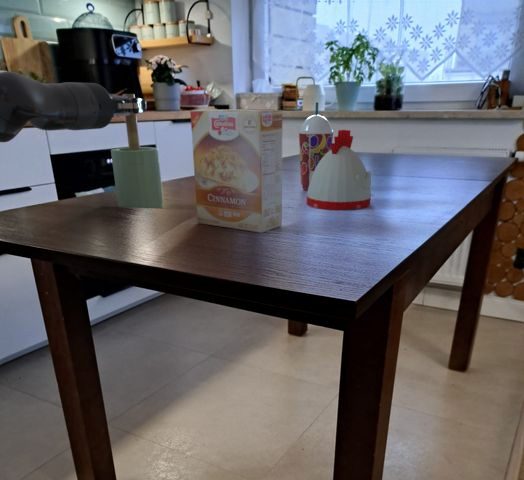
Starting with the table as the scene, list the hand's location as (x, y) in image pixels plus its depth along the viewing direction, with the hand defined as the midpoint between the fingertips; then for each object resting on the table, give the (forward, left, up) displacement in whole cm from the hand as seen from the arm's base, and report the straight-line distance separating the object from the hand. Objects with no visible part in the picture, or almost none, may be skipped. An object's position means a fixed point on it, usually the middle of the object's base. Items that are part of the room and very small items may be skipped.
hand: (138, 105), depth 105 cm
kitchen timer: (+40, +10, -20) cm, 46 cm away
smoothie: (+32, +28, -20) cm, 48 cm away
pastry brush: (-1, -3, -18) cm, 18 cm away
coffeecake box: (+24, -14, -20) cm, 35 cm away
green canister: (-1, -3, -20) cm, 20 cm away
